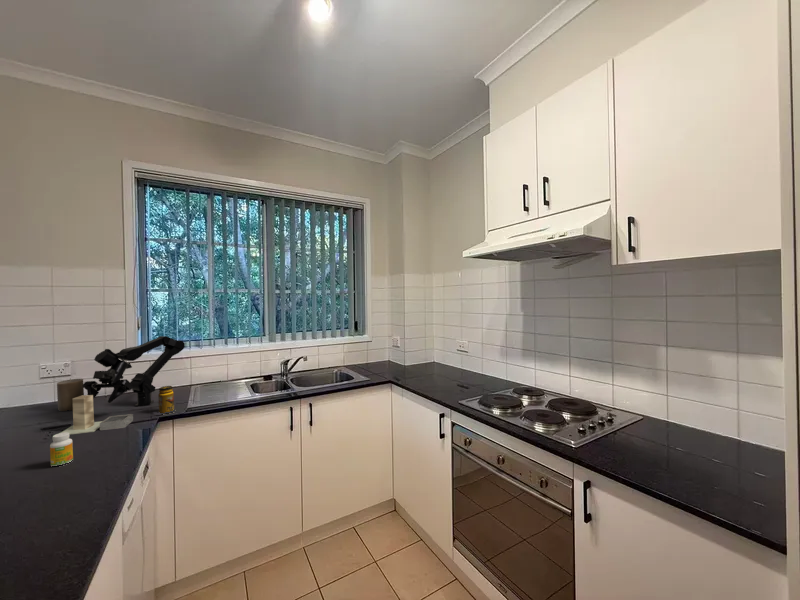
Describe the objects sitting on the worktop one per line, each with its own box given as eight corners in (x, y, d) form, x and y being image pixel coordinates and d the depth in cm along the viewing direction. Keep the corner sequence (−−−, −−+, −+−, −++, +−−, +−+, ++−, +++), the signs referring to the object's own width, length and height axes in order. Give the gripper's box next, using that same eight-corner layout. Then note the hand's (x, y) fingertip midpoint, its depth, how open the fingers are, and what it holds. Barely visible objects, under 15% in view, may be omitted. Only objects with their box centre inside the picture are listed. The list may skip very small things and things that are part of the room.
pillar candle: (87, 406, 173) (86, 377, 173) (61, 412, 165) (60, 381, 165) (80, 404, 178) (79, 375, 178) (54, 409, 170) (53, 379, 170)
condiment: (176, 411, 164) (175, 387, 164) (154, 416, 158) (154, 390, 158) (173, 408, 169) (172, 384, 169) (152, 412, 163) (151, 387, 163)
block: (83, 425, 147) (81, 395, 147) (94, 425, 148) (92, 395, 147) (73, 429, 143) (72, 398, 142) (85, 429, 143) (83, 398, 143)
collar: (109, 423, 151) (109, 416, 151) (133, 420, 153) (132, 413, 153) (99, 430, 143) (99, 423, 143) (124, 427, 145) (124, 420, 145)
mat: (74, 425, 149) (74, 424, 149) (108, 421, 153) (108, 420, 153) (56, 436, 138) (56, 435, 138) (93, 431, 141) (93, 430, 141)
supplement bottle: (53, 469, 111) (52, 439, 111) (48, 464, 114) (47, 435, 114) (75, 461, 116) (74, 433, 116) (70, 458, 119) (69, 430, 119)
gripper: (84, 363, 157) (63, 395, 146) (126, 362, 158) (108, 393, 147) (99, 376, 165) (81, 407, 155) (139, 374, 166) (123, 405, 155)
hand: (98, 403), depth 153 cm, fingers open, 9 cm apart
